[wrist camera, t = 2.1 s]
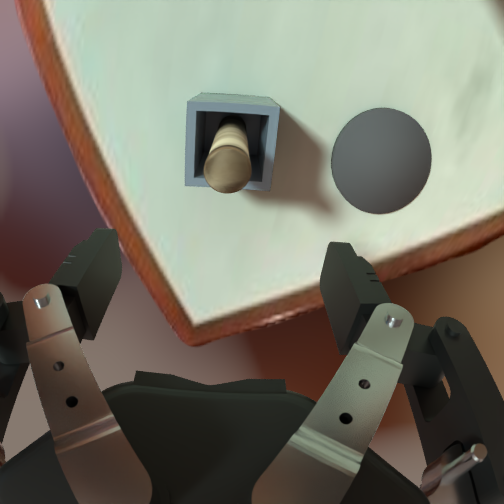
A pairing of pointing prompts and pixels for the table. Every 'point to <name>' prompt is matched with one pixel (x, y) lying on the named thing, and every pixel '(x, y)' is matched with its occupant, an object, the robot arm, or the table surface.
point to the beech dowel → (229, 157)
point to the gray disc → (381, 160)
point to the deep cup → (206, 125)
